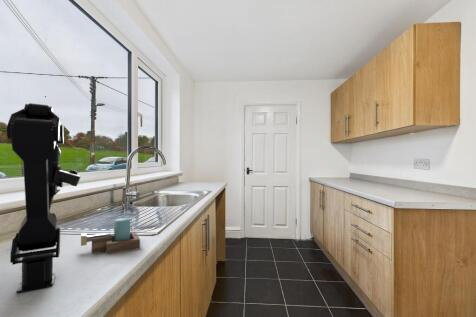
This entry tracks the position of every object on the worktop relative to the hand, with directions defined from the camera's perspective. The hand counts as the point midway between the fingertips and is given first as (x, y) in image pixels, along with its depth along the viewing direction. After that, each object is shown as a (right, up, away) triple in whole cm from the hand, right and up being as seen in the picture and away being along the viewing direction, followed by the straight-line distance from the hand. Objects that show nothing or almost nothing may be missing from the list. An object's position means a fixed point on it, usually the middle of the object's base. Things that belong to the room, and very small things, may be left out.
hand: (46, 214), depth 74 cm
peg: (+18, -13, +10) cm, 24 cm away
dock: (+16, -13, +9) cm, 23 cm away
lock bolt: (+11, -10, +7) cm, 17 cm away
